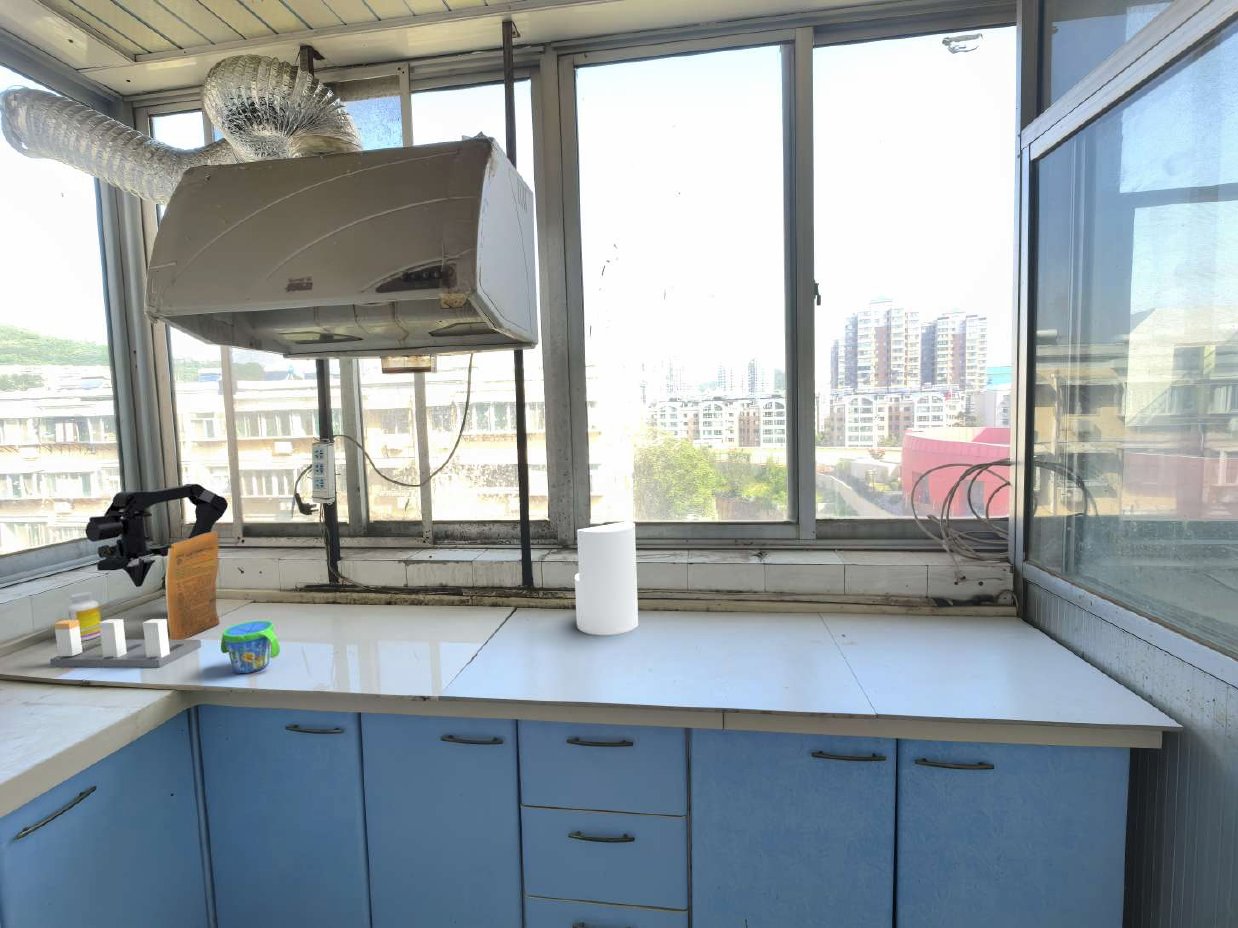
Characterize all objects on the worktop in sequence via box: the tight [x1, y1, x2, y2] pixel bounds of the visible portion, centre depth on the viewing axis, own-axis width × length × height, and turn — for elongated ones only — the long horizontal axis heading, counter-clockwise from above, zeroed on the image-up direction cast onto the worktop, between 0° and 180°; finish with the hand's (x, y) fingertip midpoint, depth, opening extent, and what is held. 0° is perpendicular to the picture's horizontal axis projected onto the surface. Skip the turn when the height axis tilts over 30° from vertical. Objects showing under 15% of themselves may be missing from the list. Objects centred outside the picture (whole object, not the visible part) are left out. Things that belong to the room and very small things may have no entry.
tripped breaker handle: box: [53, 619, 83, 656], centre depth 152 cm, size 3×4×8 cm, turn 84°
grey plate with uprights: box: [49, 618, 202, 669], centre depth 156 cm, size 13×30×11 cm, turn 85°
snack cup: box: [220, 620, 281, 674], centre depth 145 cm, size 16×10×10 cm
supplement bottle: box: [67, 591, 102, 642], centre depth 171 cm, size 7×7×13 cm
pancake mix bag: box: [165, 530, 220, 640], centre depth 172 cm, size 7×19×28 cm, turn 170°
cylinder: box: [574, 520, 639, 636], centre depth 166 cm, size 17×17×28 cm
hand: (138, 586), depth 175 cm, fingers closed
